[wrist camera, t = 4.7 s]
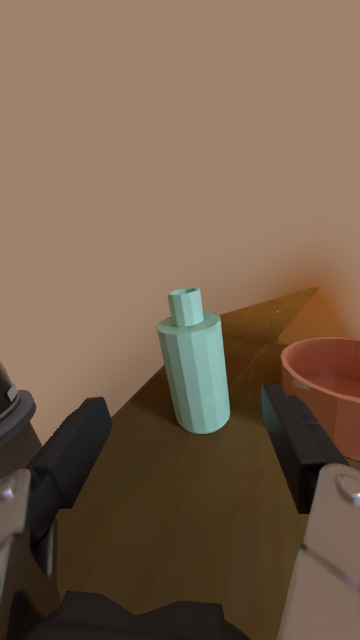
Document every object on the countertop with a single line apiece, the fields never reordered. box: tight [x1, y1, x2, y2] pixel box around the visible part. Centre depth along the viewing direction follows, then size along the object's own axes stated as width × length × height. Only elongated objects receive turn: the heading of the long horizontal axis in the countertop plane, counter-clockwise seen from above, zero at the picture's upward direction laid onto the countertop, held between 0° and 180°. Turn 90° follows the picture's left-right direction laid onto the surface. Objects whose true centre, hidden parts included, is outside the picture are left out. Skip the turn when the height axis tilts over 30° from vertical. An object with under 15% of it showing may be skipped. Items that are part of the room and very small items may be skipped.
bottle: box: [157, 288, 230, 434], centre depth 20 cm, size 6×6×14 cm
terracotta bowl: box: [280, 337, 360, 461], centre depth 19 cm, size 11×11×6 cm
